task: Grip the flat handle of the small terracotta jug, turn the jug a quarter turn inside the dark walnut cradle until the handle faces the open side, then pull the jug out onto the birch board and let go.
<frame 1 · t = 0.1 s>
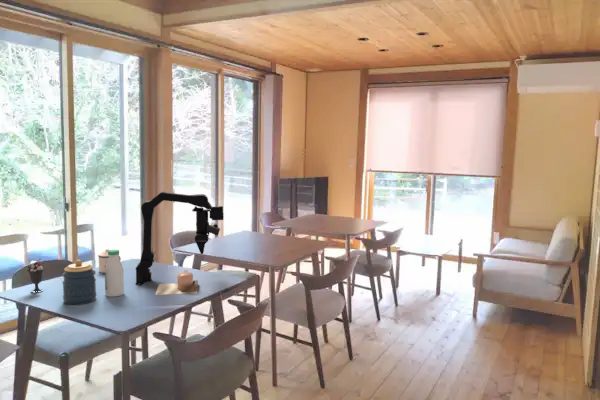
hand: (202, 251, 235), 15 cm above the table, tool pointing down, fingers open, 9 cm apart
teacup with lid: (110, 270, 253), on the table
milk bottle: (114, 294, 213), on the table
canister: (80, 300, 205), on the table
jug: (185, 288, 221), point 1 cm above the table, touching cradle
sundae: (37, 291, 216), on the table
cradle: (177, 290, 220), on the table
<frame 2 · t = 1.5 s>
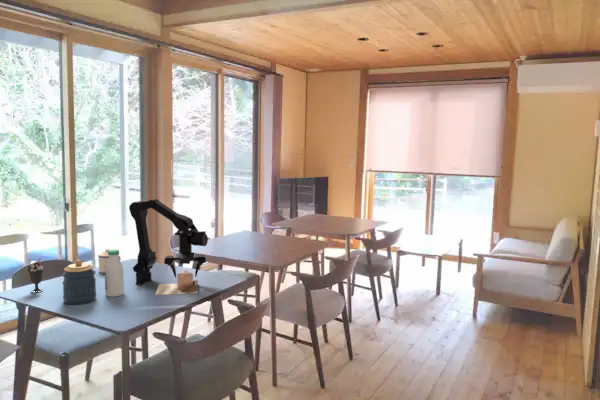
hand: (185, 277, 226), 5 cm above the table, tool pointing down, fingers open, 9 cm apart
nothing on the table moved.
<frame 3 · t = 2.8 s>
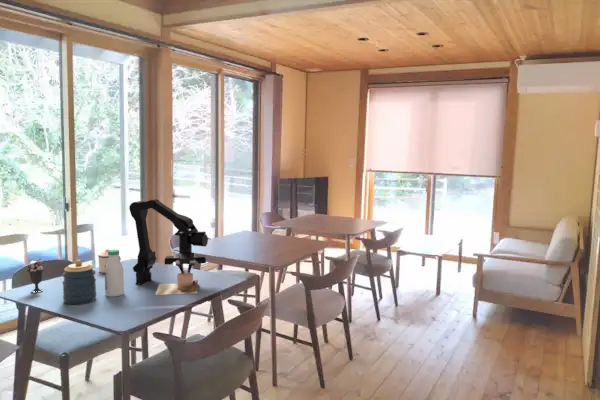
hand: (185, 277, 226), 5 cm above the table, tool pointing down, fingers closed on jug, 2 cm apart
jug: (185, 288, 221), point 1 cm above the table, touching cradle, gripper
everything else where it was.
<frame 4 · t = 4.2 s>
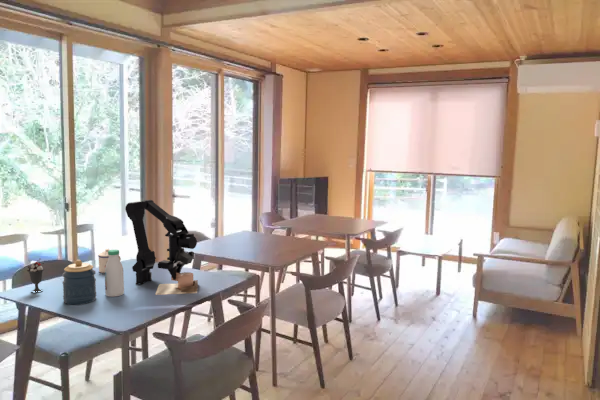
hand: (175, 279, 223), 4 cm above the table, tool pointing down, fingers closed on jug
jug: (185, 288, 221), point 1 cm above the table, touching gripper
everything else where it was.
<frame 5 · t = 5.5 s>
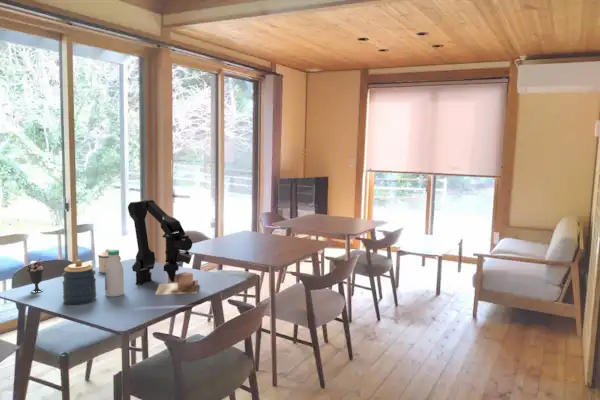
hand: (172, 281, 219), 5 cm above the table, tool pointing down, fingers closed on jug
jug: (185, 288, 221), point 1 cm above the table, touching gripper
everything else where it was.
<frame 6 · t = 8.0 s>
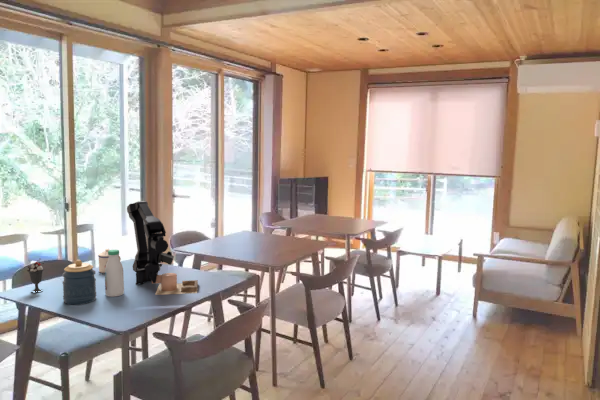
hand: (154, 281, 218), 4 cm above the table, tool pointing down, fingers open, 4 cm apart
jug: (169, 288, 220), point 1 cm above the table, touching cradle
everything else where it was.
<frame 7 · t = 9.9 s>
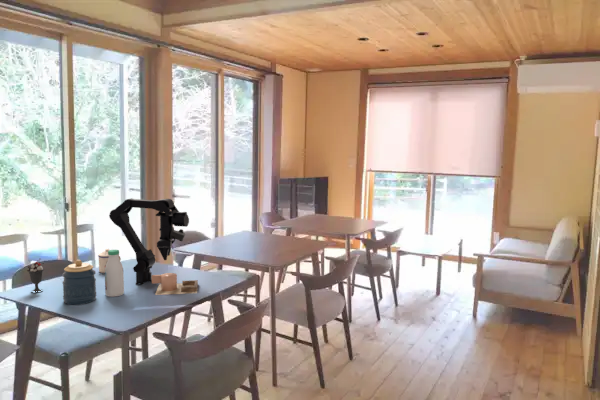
hand: (166, 257, 228), 13 cm above the table, tool pointing down, fingers open, 9 cm apart
nothing on the table moved.
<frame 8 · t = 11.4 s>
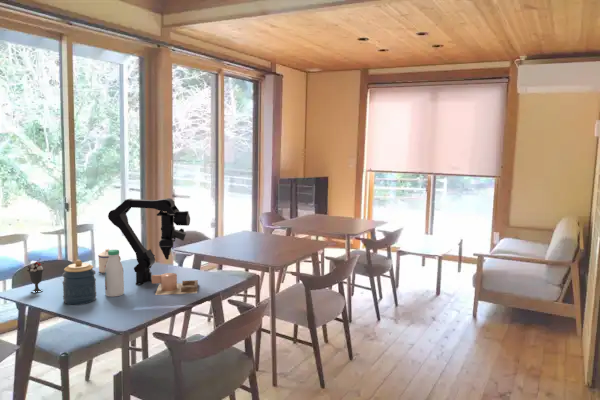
hand: (168, 257, 230), 13 cm above the table, tool pointing down, fingers open, 9 cm apart
nothing on the table moved.
at the end: jug inside the target area (1.1 cm from its centre), point 1.0 cm above the table; jug tilted 0°; the gripper is holding nothing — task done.
